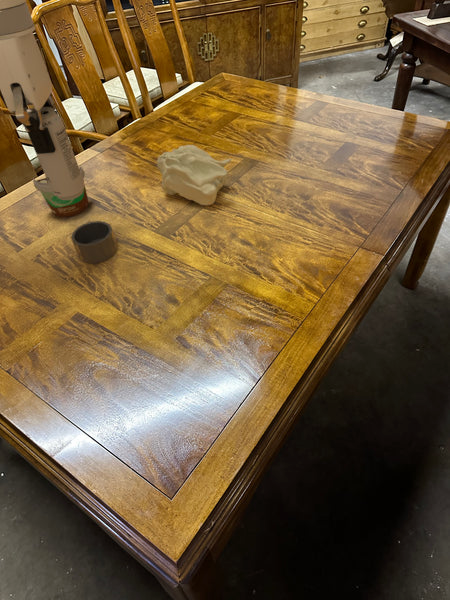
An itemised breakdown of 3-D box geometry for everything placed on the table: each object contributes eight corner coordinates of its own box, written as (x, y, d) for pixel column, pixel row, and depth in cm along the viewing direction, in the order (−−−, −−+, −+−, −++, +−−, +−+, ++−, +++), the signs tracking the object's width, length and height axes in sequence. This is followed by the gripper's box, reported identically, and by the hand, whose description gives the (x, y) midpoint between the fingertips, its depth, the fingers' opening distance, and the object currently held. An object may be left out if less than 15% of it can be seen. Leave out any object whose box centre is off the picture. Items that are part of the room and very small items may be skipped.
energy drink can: (58, 186, 81) (26, 107, 71) (88, 183, 81) (61, 103, 71) (51, 203, 77) (16, 122, 66) (83, 200, 77) (53, 118, 66)
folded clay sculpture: (218, 213, 112) (244, 162, 103) (196, 229, 102) (222, 175, 93) (165, 176, 114) (185, 123, 104) (137, 189, 104) (157, 131, 94)
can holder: (75, 265, 91) (67, 247, 87) (82, 241, 97) (75, 223, 94) (115, 261, 91) (109, 243, 87) (119, 237, 97) (113, 219, 93)
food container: (49, 225, 102) (33, 189, 95) (46, 213, 107) (30, 178, 99) (99, 211, 105) (86, 175, 98) (94, 199, 109) (81, 164, 102)
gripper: (-3, 10, 65) (41, 124, 78) (-46, 40, 53) (15, 170, 66) (45, 5, 65) (81, 120, 78) (13, 35, 53) (62, 165, 66)
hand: (50, 142), depth 72 cm, fingers closed on energy drink can, 6 cm apart
